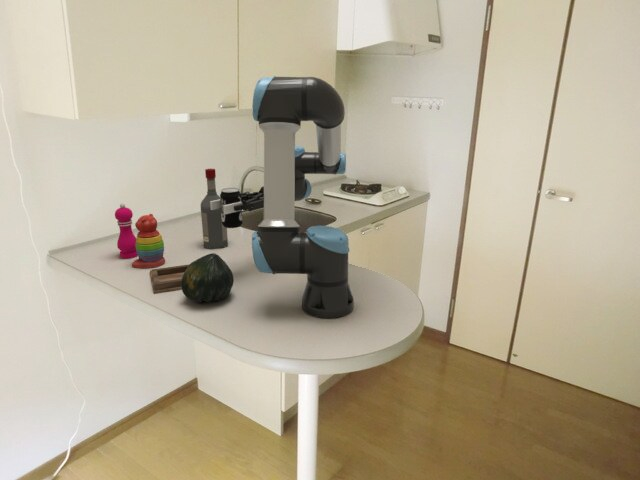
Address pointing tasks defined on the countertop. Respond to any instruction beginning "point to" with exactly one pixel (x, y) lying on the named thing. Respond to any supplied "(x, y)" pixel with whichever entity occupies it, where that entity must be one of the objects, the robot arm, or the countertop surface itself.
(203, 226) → the liquor
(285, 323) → the countertop surface
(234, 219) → the beverage can
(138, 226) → the stacking bear
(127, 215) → the pepper mill
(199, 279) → the squash
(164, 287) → the brown wooden flat tray
